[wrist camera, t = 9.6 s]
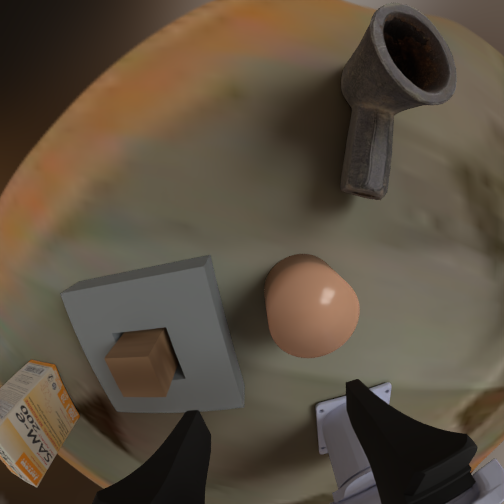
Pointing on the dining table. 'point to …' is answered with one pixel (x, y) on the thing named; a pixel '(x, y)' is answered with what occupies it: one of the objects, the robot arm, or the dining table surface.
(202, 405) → the block
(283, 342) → the peach egg-shaped blob
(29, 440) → the supplement box
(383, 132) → the pipe
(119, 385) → the square peg
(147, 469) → the robot arm
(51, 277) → the dining table surface
